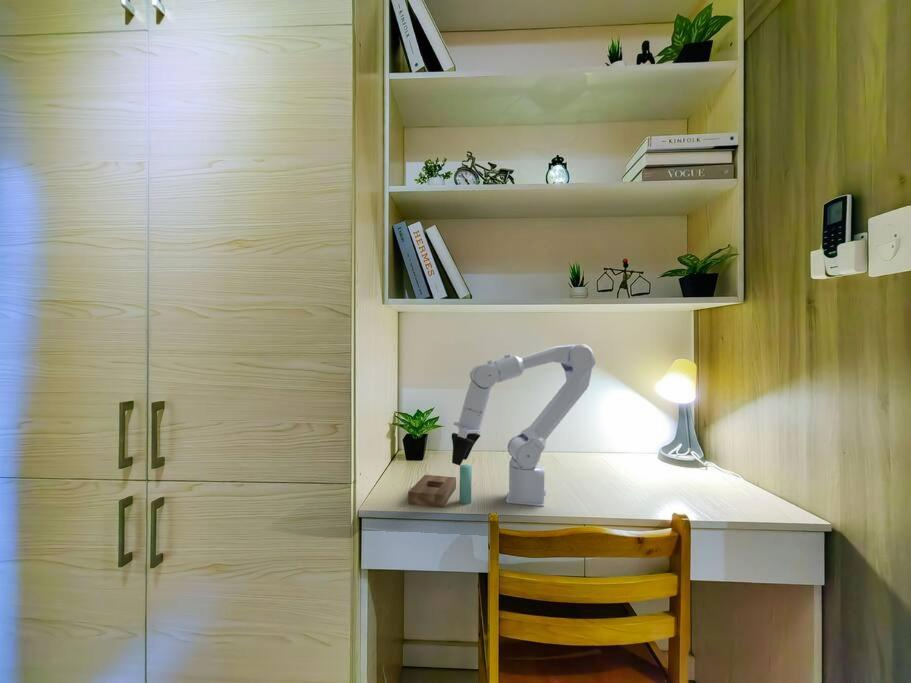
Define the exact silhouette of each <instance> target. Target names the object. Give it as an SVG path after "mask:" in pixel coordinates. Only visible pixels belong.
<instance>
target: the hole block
mask: <svg viewBox="0 0 911 683" xmlns="http://www.w3.org/2000/svg"><path fill="white" fill-rule="evenodd" d="M456 489H457V477H456V476H447V475H446V476H444V475H432V474H424V475H423V476H422V477H421V478H420V479H419V480H418V481H417V482H416V483H415V484H414V485H413V486H412V487H411V489H409V490H408V492H407V493H408V497H407V500H408V501H407V503H408V504H410V505H416V506H417V505H418V506H427V507H437V508H444V507H445V506H446V504H447V502H448V500H450V498H451V496H452V495H453V494H454V492H455V490H456Z"/></svg>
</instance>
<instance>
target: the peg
mask: <svg viewBox="0 0 911 683" xmlns="http://www.w3.org/2000/svg"><path fill="white" fill-rule="evenodd" d="M472 469H473V466H472V465H471V464H461V465H460V466H459V494H458V495H459V502H458V503H460V504H462V505H469V504H472V475H473V474H472V472H473V470H472Z"/></svg>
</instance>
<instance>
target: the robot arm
mask: <svg viewBox="0 0 911 683" xmlns="http://www.w3.org/2000/svg"><path fill="white" fill-rule="evenodd" d="M486 362H487V364H485V363H484V364H483V363H480V364H476V365H475V366H474V367H473V368H472V370H471V371H470V372H469V378H470V382H469V385H468V389H467V391H466V395H465V398H464V402H463V406H462V410H461V413H460V417H459V421H454V422H453V423H452V424H453V426H455V427H457V429H458V433H456V432H453V433H451V441H452V455H451V456H452V459H451V460H452V461H451V463H452V464H454V465H457V466H459V467H460V466H461V465H462V463H463V461H466V460H467V459H468V458H469V456H470V453H471V451H472V450H473V447H474V446H475V444H476V442H477V441H478V440H479V438H480V437H481V434H480V433H481V426H482V422H483V419H484V416H485V412H486V409H487V405H488V401H489V398H490V393H491V389H492V387H494V386H495V384H496V383H501V382H504V381H508V380H511V379H515V378H519V377H521V375H522V374H523V373H524V371H525V370H528V369H531V368H535V367H538V366H543V365H546V364H549V363H558V364H560V365H561V366H562V368H563V370H564V375H565V380H566V381H565V383H563V385H562V386H561V387H560V389H558V391H557V392H556V393H555V394H554V396H553V397H552V398H551V400H550V401H549V402H548V404H547V405H545V407H544V408H543V410H542V411H541V412H540V413H539V414H538V416H537V417H536V418H535V419H534V420H533V422H532V423H531V424H530V426H528V427H526V428H524V429H522V431H521V432H520V433H519V434H518V435H515V436H513V437H511V439H510V440H509V442H508V444H507V452H508V454H509V455H510V456H511V457H510V460H509V462H508V467H509V468H508V492H507V495H506V498H505V503H507V504H516V505H525V506H526V505H527V506H535V507H544V506H545V497H547V496H546V493H547V490H546V489H547V488H545V487H546V486H545V484H546V483H545V482H546V475H545V474H546V468H545V466H540V465H538V464H539V463H540V459H541V455H542V453H543V451H544V450H545V448H546V442H547V439H548V437H549V436H550V435H551V434H552V433H553V432H554V430H555V429H556V427H558V426H559V424H560V423H561V422H562V420H564V418H565V417H566V415H567V414H569V412H570V410H571V409H572V408H573V407H574V405H575V404H576V403H577V402H578V400H579V399H580V398H581V397H582V396H583V394H584V393H585V392H586V391H587V389H588V387H589V385H590V382H591V377H592V373H593V372H592V370H593V368H594V367H595V365H596V359H595V355H594V351H593V349H592V348H591V347H590V346H589V345H587V344H586V343H585V344H583V343H580V344H572V343H567V344H564V345H557V346H551V347H548V348H545V349H543V350H540V351H536V352H534V353H531V354H528V355H525V356H521V357H519V356H517V355H515V354H510V353H507V354H504V357H502V358H499V359H495V360H492V359H489V360H487V361H486Z"/></svg>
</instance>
